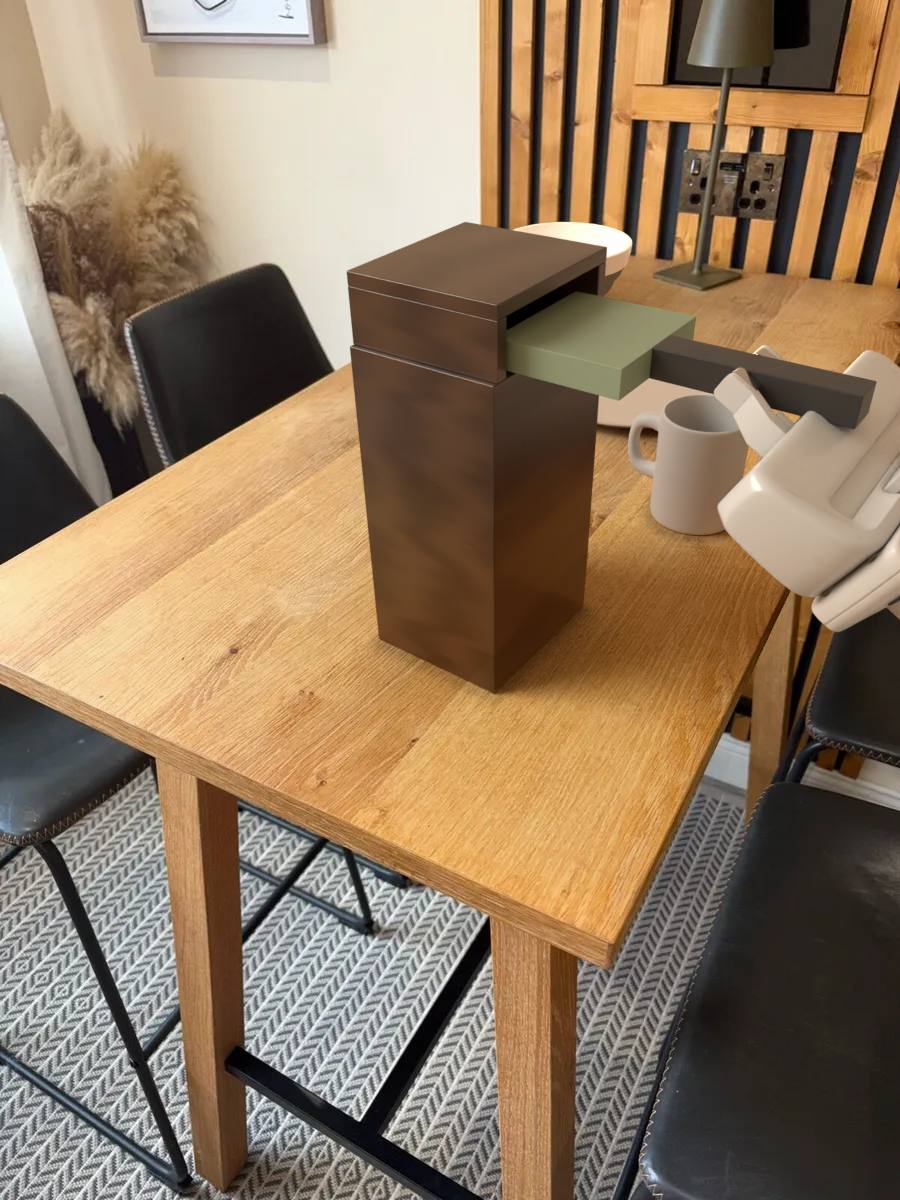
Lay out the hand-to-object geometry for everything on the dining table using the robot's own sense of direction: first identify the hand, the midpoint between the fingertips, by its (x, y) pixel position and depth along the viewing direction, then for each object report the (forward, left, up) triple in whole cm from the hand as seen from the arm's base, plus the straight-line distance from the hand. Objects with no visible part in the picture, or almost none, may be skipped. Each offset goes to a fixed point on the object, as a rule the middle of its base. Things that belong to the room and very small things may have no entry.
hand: (737, 367), depth 54 cm
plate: (+21, -52, -28) cm, 63 cm away
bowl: (+40, -78, -28) cm, 92 cm away
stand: (+18, -3, -28) cm, 33 cm away
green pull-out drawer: (+3, -1, -1) cm, 4 cm away
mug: (+8, -28, -28) cm, 41 cm away
